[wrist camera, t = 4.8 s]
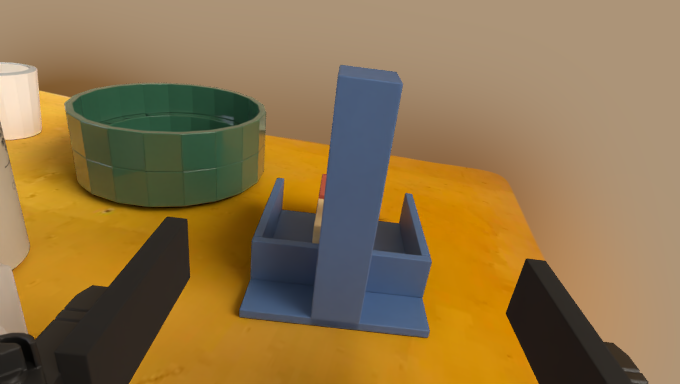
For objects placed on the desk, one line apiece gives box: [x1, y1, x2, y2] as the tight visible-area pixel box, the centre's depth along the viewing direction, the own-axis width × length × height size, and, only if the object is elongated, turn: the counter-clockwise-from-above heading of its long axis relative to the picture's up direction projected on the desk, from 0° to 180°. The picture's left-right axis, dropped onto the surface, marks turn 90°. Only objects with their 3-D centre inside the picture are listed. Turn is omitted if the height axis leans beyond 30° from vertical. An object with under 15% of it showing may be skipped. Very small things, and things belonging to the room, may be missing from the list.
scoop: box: [239, 65, 432, 338], centre depth 28 cm, size 13×12×15 cm
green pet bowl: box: [64, 83, 266, 207], centre depth 41 cm, size 17×17×7 cm
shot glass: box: [0, 62, 42, 140], centre depth 45 cm, size 7×7×7 cm
